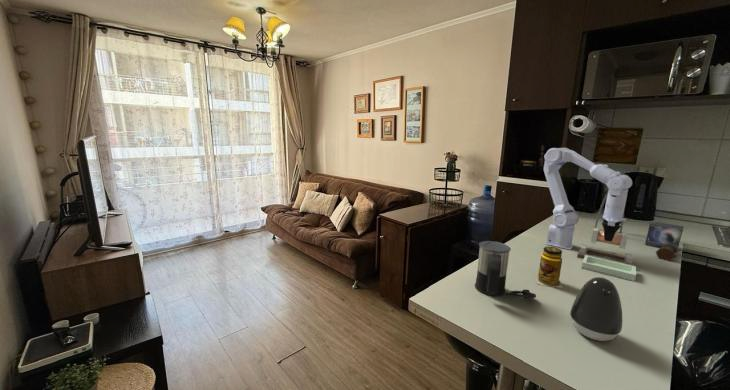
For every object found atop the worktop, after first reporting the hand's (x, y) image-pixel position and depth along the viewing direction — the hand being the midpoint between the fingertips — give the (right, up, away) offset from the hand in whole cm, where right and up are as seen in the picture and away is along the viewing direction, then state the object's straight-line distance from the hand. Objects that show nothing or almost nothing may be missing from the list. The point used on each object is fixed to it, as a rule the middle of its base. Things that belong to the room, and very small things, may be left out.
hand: (608, 239), depth 118 cm
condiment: (-34, -12, -16) cm, 40 cm away
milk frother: (-53, -14, -25) cm, 60 cm away
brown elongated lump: (+30, -8, +7) cm, 32 cm away
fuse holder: (0, -8, +2) cm, 9 cm away
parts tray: (-7, -10, -8) cm, 15 cm away
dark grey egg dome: (-40, -18, -43) cm, 61 cm away
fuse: (0, -2, 0) cm, 2 cm away
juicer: (+28, -2, +33) cm, 43 cm away
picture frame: (+37, -6, +16) cm, 41 cm away
